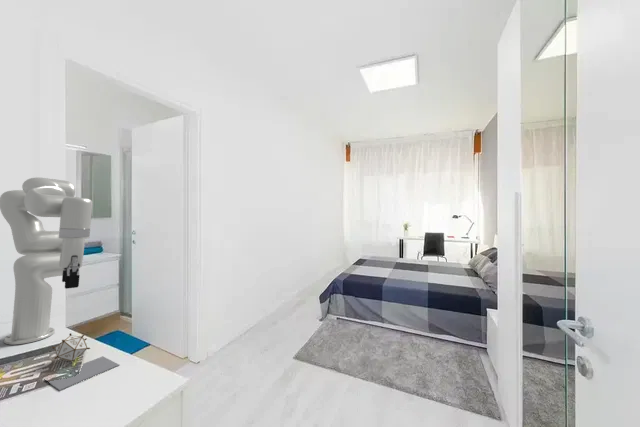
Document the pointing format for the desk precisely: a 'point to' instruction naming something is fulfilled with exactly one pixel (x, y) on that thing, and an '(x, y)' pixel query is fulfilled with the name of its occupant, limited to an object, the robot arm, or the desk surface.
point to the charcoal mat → (85, 372)
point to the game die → (71, 348)
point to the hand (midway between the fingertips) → (69, 284)
